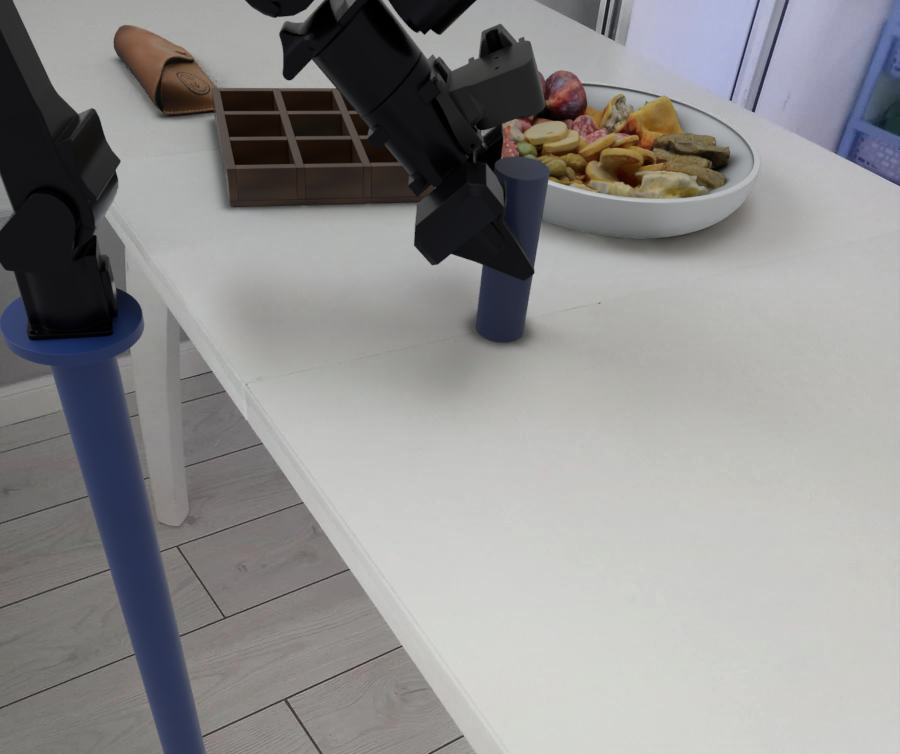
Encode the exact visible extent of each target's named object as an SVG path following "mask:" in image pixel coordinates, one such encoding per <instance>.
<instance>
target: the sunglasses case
mask: <svg viewBox="0 0 900 754" xmlns="http://www.w3.org/2000/svg"><path fill="white" fill-rule="evenodd" d="M112 43H113V49H114V51H115V53H116V55H117V57H118V58H119V60H121V61H122V63H124V65H125V66H126V67H127V68H128V70H129V71H130V73H131V74H132V76H133V77H134V78H135V79H136V80H137V82H138V83H139V85H140V86H141V87H142V89H143V90H144V92H145V93H146V95H147V96H148V98H149V99H150V101H151V102H152V103H153V105H154V106H156V107H157V108H158V109H159V110H160V111H161V113H163V114H164V115H166V116H175V115H176V116H185V115H186V116H187V115H197V114H204V113H208V112H214V107H213V97H212V88H218V87H217V86H216V84H215V83H214V82H213V81H212V79H211V78H210V77H209V76H208V75H207V73H206V72H205V71H204V70H203V69H202V67H201V66H199V64H198V63H197V62H196V60H195V58H194V56H193V55H192V54H191V52H189V51H188V50H187V49H185V48H184V47H182V46H181V45H179V44H178V45H177V44H176V43H173V42H172V41H169V39H166V38H165V37H162V36H161V35H159V34H157V33H154V31H153V32H152V31H150V30H148V29H145V28H142V27H139V26H136V25H132V24H131V25H130V24H123V25H121V26H119V27H118V29H117V30H116V32H115V33H114V37H113V42H112Z"/></svg>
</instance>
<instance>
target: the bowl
mask: <svg viewBox="0 0 900 754" xmlns="http://www.w3.org/2000/svg"><path fill="white" fill-rule="evenodd" d="M538 72H539V76H540V80H541V83H542V87H543V95H544V100H545V107H544V109H543V110H542V111H541V112H539V113H537V114H536V115H533V116H531V117H528V118H524V117H519V118H517V119H514V120H512V121H509V122H506V123H504V124H502V125H503V138H504V140H503V148H502V157H501V159H502V158H505V157H513V156H518V157H527V158H531V159H535V160H537V161H540V162H542V163H543V164H545V165H546V166H547V167H548V168H549V171H550V174H549V180H548V186H547V192H546V198H545V204H544V210H543V216H542V221H545V222H547V223H550V224H552V225H555V226H558V227H562V228H566V229H570V230H573V231H578V232H581V233H587V234H591V235H598V236H604V237H612V238H623V239H658V238H659V239H660V238H671V237H676V236H682V235H688V234H691V233H695V232H699V231H702V230H704V229H706V228H709V227H711V226H713V225H716V224H719V222H721V221H723V220H724V219H726V218H728V217H729V216H730V215H732V214H733V213H734V212H735V211H736V210H737V209H739V208H740V207H741V205H742V204H743V203H745V201H746V200H747V199H748V197H749V195H750V194H751V192H752V190H753V189H754V187H755V185H756V183H757V180H758V177H759V174H760V171H761V167H762V160H761V159H762V158H761V155H760V152H759V150H758V148H757V146H756V145H755V143H754V141H752V139H750V137H749V136H748V135H746V133H745V132H743V130H741V129H739V128H738V127H737V126H735V125H734V124H733V123H732V122H730V121H728V120H727V119H726V118H725V119H724V118H723V117H722V116H719V115H717V114H715V112H712V111H710V110H707V109H706V108H704V107H701V106H698V105H696V104H693V103H691V102H688V101H686V100H682V99H680V98H677V97H673V96H671V95H666V94H663V93H659V92H655V91H652V90H646V89H643V88H638V87H632V86H629V85H622V84H615V83H607V82H601V81H600V82H599V81H588V80H587V81H586V80H580V79H579V77H578V75H576V74H575V73H573V72H572V71H568V70H562V69H560V70H557V71H555V72H553V73H551V74H550V75H549V76H548V77H547V78H546V79H545V76H544V75H543V73H542V72H540V70H538ZM491 129H492V128H490V129H487V130H483V131H484V133H485V134H486V133H488V132H489V131H490V130H491Z"/></svg>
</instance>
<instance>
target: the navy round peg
mask: <svg viewBox="0 0 900 754" xmlns="http://www.w3.org/2000/svg"><path fill="white" fill-rule="evenodd" d="M494 174H495V175H496V177H497V179H498V181H499V183H500V184H502V183H503V182H504V181H506V191H507V204H506V207H505V212H504V215H505V217H506V219H507V220H508V222H509V224H510V226H511V228H512V229H513V231H514V233H515V235H516V236H517V238H518V240H519V242H520V244H521V245H522V247H523V249H524V251H525V252H526V254H527V256H528V258H529V260H530V262H531V264H532V266H533V268H534V269H535V265H536V259H537V253H538V252H537V251H538V246H539V240H540V235H541V228H542V222H543V220H542V216H543V210H544V204H545V198H546V192H547V186H548V180H549V174H550V171H549V168H548V167H547V166H546V165H545V164H543V163H542V162H540V161H537V160H535V159H531V158H527V157H518V156H513V157H505V158H502V159H499V160H498V161H497V162H496V163H495V166H494ZM533 277H534V275H532V276H531V277H530V278H528V279H527V280H525V281H522V280H520V279H517V278H515V277H512V276H510V275H507V274H505V273H502V272H500V271H497V270H495V269H492V268H490V267H487V266H485V265H482V268H481V276H480V284H479V293H478V301H477V310H476V319H475V325H474V326H475V331H476V332H477V333H478V335H480V337H482V338H484V339H486V340H489V341H492V342H497V343H511V342H514V341H517V340H519V339H520V338H521V337H522V336H524V335H523V334H524V331H525V325H526V319H527V313H528V308H529V307H528V306H529V301H530V295H531V288H532V281H533Z"/></svg>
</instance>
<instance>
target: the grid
mask: <svg viewBox="0 0 900 754" xmlns="http://www.w3.org/2000/svg"><path fill="white" fill-rule="evenodd" d="M212 97H213V107H214V111H213V115H214V125H215V129H216V134H217V140H218V147H219V151H220V156H221V162H222V168H223V173H224V178H225V185H226V190H227V194H228V200H229V206H230V207H260V206H261V207H263V206H266V207H267V206H299V205H301V206H303V205H334V204H339V205H341V204H373V203H374V204H376V203H377V204H378V203H411V202H413V203H415V202H417V203H418V202H420V201H421V200H422V199H423V198H425V197H426V196H427V195H428V194H429V193H430V192H432V191H433V190H434V189H435V188H433V187H432V185H430V186H429V187H428V188H427V189H426V190H425V191H424V192H422V193H421V194H420V195H419V196H418V197H417V196H416V195H415V194H414V193H413V191H412V190H411V189H410V188H409V187H408V180H409V173H408V172H407V171H406V170H405V169H404V167H403V166H402V165H401V164H400V163H399V161H398V160H397V159H396V158H395V157H394V156H393V154H392V153H391V152H390V151H389V150H388V149H387V147H386V146H385V145H383V146H382V147H381V148H380V149H378V150H376V148H375V147H374V146H373V145H372V144H371V143H370V141H369V140H368V139H367V137H368V132H369V126H368V125H367V124H366V123H365V122H364V120H363V119H362V118H361V117H360V115H359V114H358V113H357V112H356V111H355V110H354V108H353V107H352V106H351V105H350V104H349V103H348V101H347V100H346V99H345V98H344V97H343V95H342V94H341V93H340V92H339V91H338V90H337V88H336V87H331V88H330V87H280V88H279V87H217V88H212Z"/></svg>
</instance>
